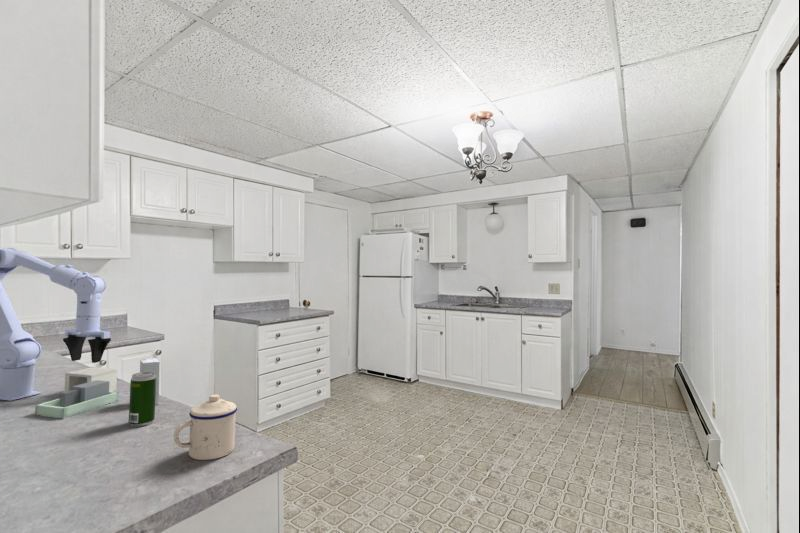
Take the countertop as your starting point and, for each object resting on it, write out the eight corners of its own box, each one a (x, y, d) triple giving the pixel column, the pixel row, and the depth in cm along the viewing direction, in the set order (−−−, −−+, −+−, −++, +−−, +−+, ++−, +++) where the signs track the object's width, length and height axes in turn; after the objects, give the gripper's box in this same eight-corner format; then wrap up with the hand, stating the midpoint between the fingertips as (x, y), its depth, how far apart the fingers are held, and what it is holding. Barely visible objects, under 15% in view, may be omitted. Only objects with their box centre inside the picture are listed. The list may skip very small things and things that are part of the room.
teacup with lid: (224, 439, 89) (227, 387, 89) (242, 452, 83) (245, 396, 83) (165, 455, 80) (168, 397, 81) (180, 471, 74) (183, 408, 74)
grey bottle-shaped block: (55, 409, 103) (56, 390, 103) (95, 397, 114) (96, 380, 114) (68, 411, 102) (69, 392, 102) (108, 399, 113) (109, 381, 113)
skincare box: (159, 404, 111) (161, 361, 111) (140, 407, 108) (142, 363, 108) (156, 399, 116) (158, 357, 116) (137, 401, 113) (139, 359, 113)
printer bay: (64, 394, 117) (65, 372, 117) (91, 387, 125) (92, 367, 125) (90, 397, 115) (91, 375, 115) (116, 390, 123) (117, 369, 123)
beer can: (146, 427, 94) (148, 377, 95) (123, 427, 94) (125, 376, 94) (158, 419, 100) (161, 371, 100) (137, 419, 99) (139, 371, 100)
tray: (34, 415, 100) (35, 405, 100) (92, 398, 115) (92, 389, 115) (63, 418, 98) (63, 408, 98) (118, 400, 113) (118, 392, 113)
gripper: (55, 316, 116) (52, 362, 116) (95, 318, 113) (92, 365, 113) (79, 314, 123) (77, 357, 123) (117, 316, 120) (115, 360, 120)
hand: (86, 361), depth 118 cm, fingers open, 7 cm apart
